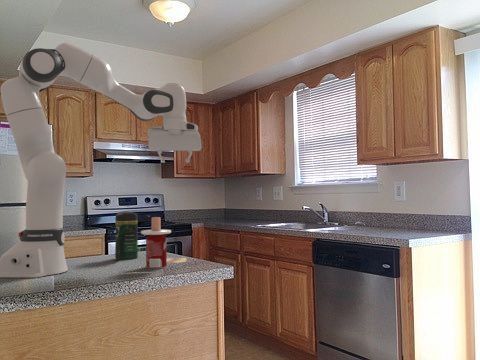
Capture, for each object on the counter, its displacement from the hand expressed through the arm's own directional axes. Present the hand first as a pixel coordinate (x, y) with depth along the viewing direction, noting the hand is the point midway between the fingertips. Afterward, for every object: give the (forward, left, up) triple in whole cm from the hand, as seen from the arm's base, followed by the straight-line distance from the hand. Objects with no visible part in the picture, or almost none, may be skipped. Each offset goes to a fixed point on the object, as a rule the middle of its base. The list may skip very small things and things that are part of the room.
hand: (175, 162), depth 163 cm
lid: (-6, -18, -25) cm, 31 cm away
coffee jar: (-19, +5, -37) cm, 42 cm away
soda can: (-6, -18, -37) cm, 42 cm away
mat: (-1, -5, -37) cm, 37 cm away
